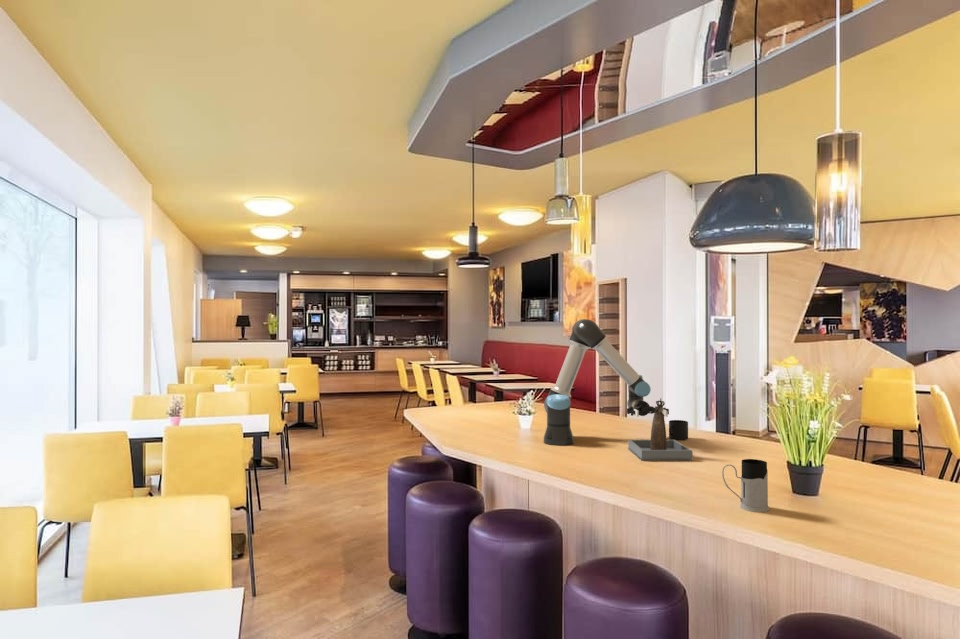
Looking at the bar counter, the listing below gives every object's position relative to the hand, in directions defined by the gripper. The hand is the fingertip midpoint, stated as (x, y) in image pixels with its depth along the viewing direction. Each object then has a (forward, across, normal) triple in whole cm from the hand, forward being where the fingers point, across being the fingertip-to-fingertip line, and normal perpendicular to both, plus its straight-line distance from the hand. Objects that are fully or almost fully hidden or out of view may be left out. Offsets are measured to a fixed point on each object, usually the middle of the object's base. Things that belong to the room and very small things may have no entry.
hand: (652, 413), depth 285 cm
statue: (+10, 0, -16) cm, 19 cm away
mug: (-27, -20, -17) cm, 38 cm away
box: (+10, 0, -17) cm, 20 cm away
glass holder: (+89, -6, -17) cm, 91 cm away
